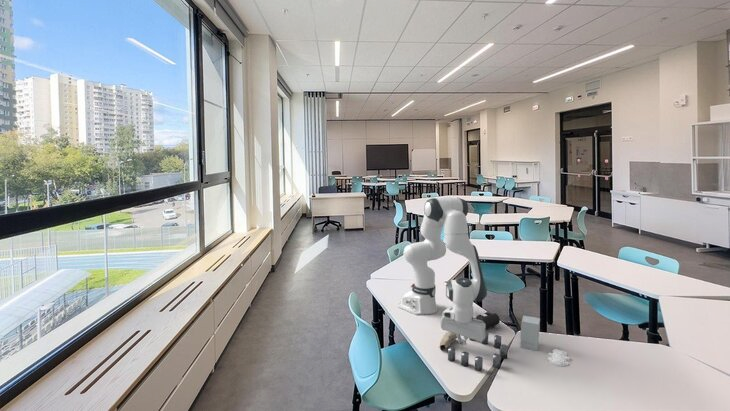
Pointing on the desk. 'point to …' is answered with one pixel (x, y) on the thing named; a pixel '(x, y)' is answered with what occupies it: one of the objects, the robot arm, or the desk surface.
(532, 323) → the supplement box
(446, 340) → the bone fragment
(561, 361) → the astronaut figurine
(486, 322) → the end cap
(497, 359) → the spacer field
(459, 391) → the desk surface
